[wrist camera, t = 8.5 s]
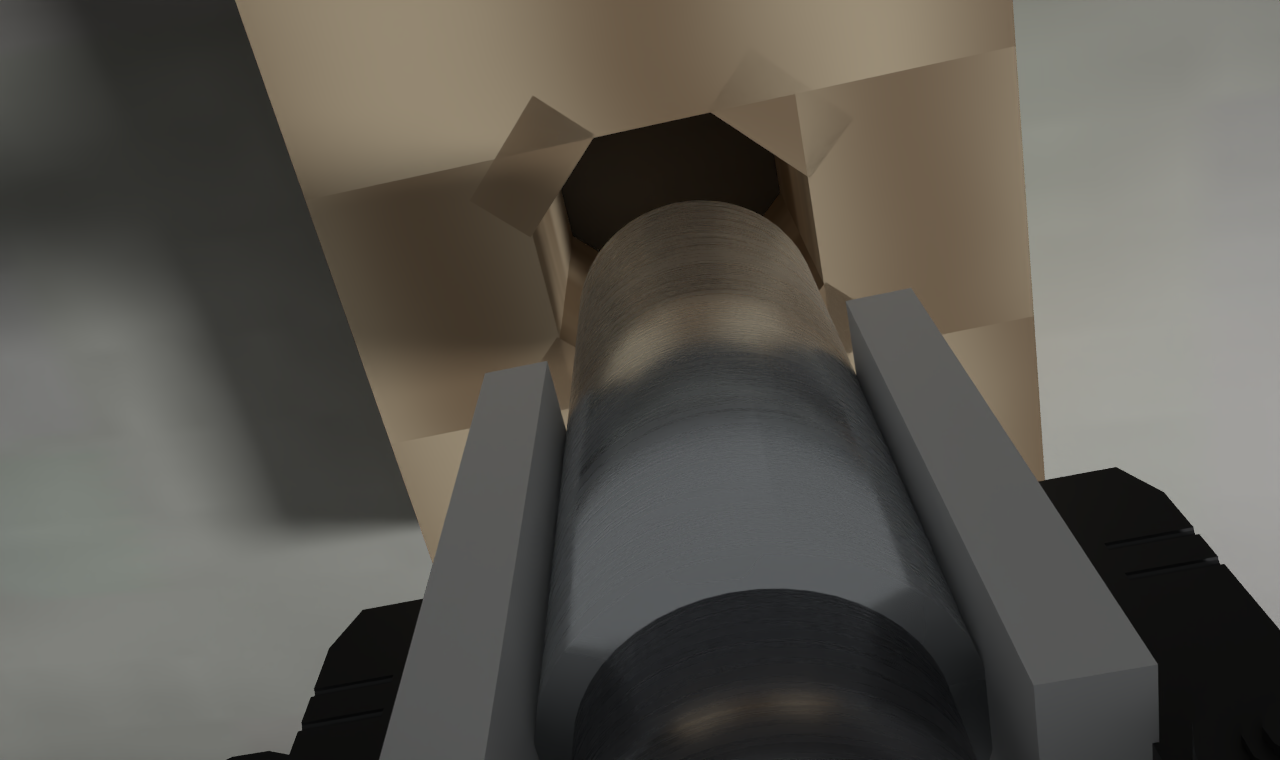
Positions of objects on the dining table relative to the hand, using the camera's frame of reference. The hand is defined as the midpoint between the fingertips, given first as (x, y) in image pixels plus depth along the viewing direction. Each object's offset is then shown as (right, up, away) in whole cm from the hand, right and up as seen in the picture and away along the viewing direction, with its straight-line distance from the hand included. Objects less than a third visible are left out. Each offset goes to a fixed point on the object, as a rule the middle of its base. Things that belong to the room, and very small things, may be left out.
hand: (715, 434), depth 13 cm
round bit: (0, +2, +4) cm, 4 cm away
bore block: (0, +5, +12) cm, 13 cm away
